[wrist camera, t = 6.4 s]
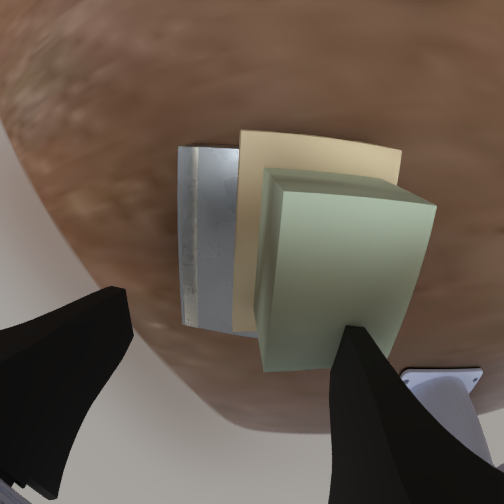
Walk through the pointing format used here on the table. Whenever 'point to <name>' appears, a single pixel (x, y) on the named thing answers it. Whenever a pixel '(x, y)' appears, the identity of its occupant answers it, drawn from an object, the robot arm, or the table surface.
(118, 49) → the table surface
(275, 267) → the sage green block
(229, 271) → the dock
